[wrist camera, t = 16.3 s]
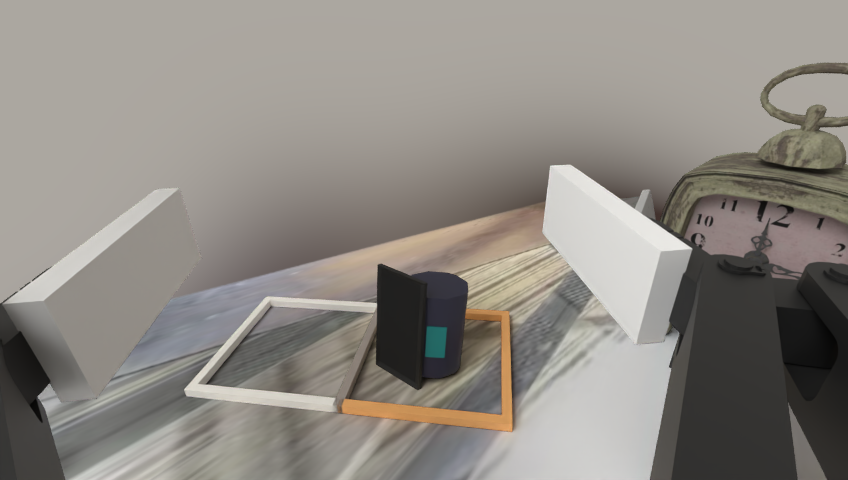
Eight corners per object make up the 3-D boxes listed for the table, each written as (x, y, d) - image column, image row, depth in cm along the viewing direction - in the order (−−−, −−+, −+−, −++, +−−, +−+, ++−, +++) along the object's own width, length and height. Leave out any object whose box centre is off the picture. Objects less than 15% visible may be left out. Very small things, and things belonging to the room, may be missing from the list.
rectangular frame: (186, 396, 37) (184, 389, 37) (267, 301, 50) (266, 296, 49) (512, 431, 32) (512, 424, 32) (508, 317, 45) (509, 311, 45)
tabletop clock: (633, 332, 42) (693, 65, 31) (670, 296, 47) (734, 57, 36) (819, 419, 32) (1009, 71, 21) (842, 362, 37) (1003, 58, 26)
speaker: (402, 402, 35) (402, 293, 31) (375, 364, 40) (372, 265, 36) (475, 374, 38) (483, 273, 35) (442, 342, 43) (446, 249, 39)
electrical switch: (651, 288, 49) (658, 214, 45) (604, 281, 52) (608, 211, 48) (658, 254, 56) (666, 188, 52) (617, 250, 59) (621, 187, 55)
